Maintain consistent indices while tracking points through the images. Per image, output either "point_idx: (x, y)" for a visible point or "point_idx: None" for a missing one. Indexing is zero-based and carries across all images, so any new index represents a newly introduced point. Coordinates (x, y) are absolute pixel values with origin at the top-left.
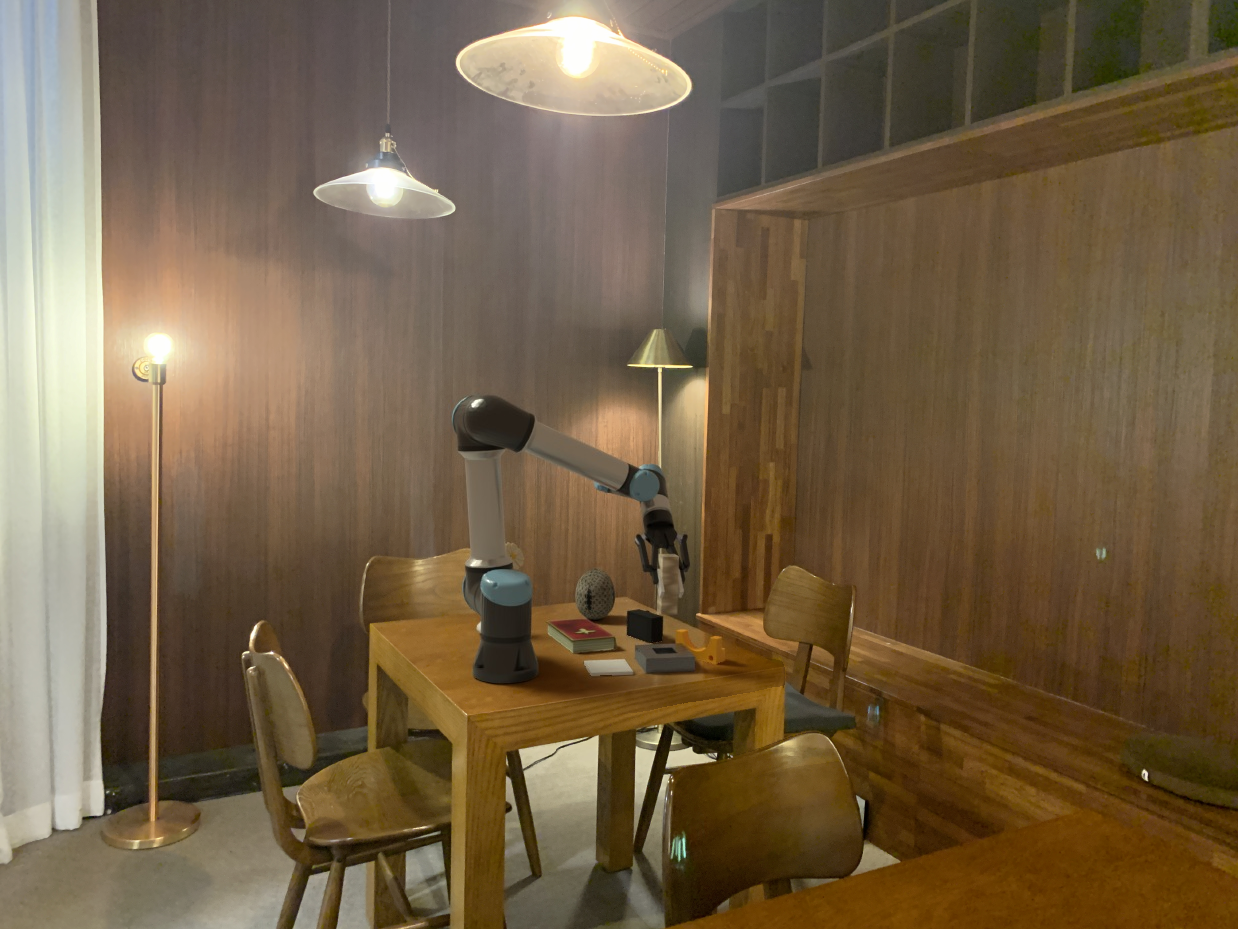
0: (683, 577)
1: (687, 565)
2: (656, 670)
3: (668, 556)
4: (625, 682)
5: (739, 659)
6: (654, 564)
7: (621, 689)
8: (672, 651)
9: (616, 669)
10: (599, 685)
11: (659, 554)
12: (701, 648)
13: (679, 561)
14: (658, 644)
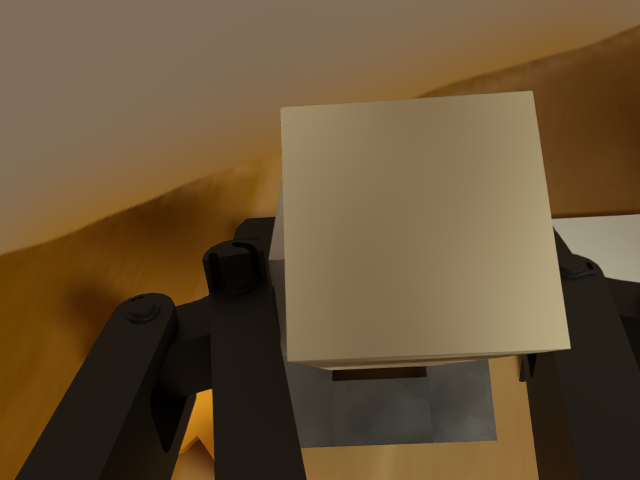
0: (247, 238)
1: (152, 300)
2: None
3: (438, 122)
4: (544, 145)
5: (57, 385)
6: (582, 290)
7: (563, 79)
8: (332, 373)
9: (576, 246)
10: (636, 121)
11: (563, 299)
12: (188, 435)
13: (234, 335)
14: (385, 437)
